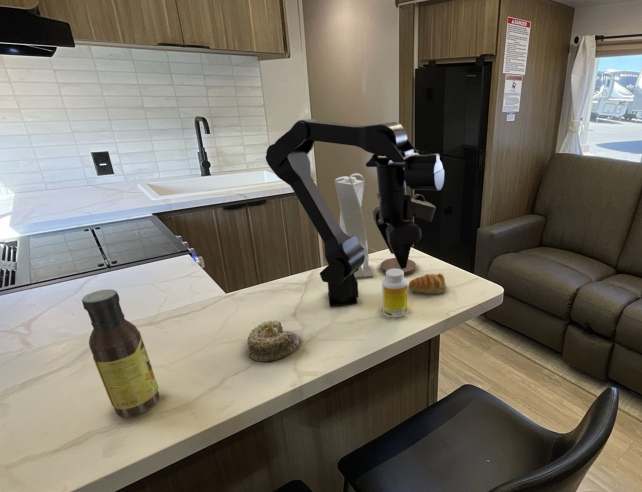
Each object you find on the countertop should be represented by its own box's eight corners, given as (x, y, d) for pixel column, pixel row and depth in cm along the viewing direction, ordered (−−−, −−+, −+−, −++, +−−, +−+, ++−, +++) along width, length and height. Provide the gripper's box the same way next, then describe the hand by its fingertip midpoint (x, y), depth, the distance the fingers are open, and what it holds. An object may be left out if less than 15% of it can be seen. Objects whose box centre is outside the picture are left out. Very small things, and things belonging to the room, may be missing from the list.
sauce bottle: (169, 399, 65) (137, 292, 57) (128, 425, 60) (86, 311, 52) (146, 386, 68) (112, 281, 60) (105, 409, 63) (62, 299, 55)
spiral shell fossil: (263, 372, 73) (256, 348, 70) (238, 349, 79) (230, 327, 76) (309, 345, 79) (304, 322, 77) (283, 326, 85) (277, 304, 83)
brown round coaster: (384, 278, 108) (384, 274, 107) (377, 263, 116) (377, 259, 116) (420, 274, 110) (420, 270, 110) (410, 260, 119) (411, 256, 119)
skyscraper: (373, 279, 107) (370, 174, 95) (342, 282, 105) (335, 175, 93) (368, 266, 114) (364, 167, 103) (339, 269, 112) (332, 168, 101)
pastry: (411, 297, 98) (411, 283, 97) (406, 284, 104) (406, 271, 103) (448, 293, 100) (448, 279, 99) (440, 281, 106) (441, 268, 105)
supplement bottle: (410, 316, 90) (410, 275, 86) (386, 320, 88) (385, 279, 84) (402, 304, 95) (402, 265, 91) (380, 308, 93) (379, 268, 89)
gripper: (445, 193, 74) (448, 270, 80) (418, 177, 91) (421, 242, 97) (387, 200, 72) (394, 279, 78) (369, 182, 88) (376, 248, 94)
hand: (398, 260), depth 87 cm, fingers open, 9 cm apart
